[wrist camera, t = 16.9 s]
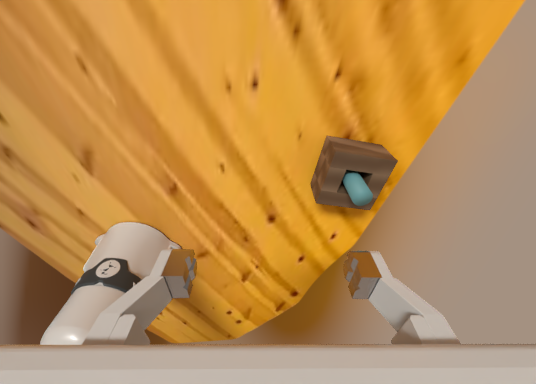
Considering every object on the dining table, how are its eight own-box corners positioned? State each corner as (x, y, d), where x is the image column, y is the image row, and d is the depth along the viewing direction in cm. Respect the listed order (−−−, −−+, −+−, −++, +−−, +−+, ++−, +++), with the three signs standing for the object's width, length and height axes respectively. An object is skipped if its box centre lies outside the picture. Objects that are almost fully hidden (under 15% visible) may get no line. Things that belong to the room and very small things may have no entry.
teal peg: (348, 173, 43) (368, 206, 35) (333, 171, 43) (349, 204, 35) (354, 159, 41) (376, 190, 33) (338, 157, 41) (356, 188, 33)
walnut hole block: (358, 190, 46) (369, 210, 41) (310, 184, 44) (316, 203, 40) (381, 144, 40) (397, 160, 35) (326, 135, 39) (335, 151, 34)
